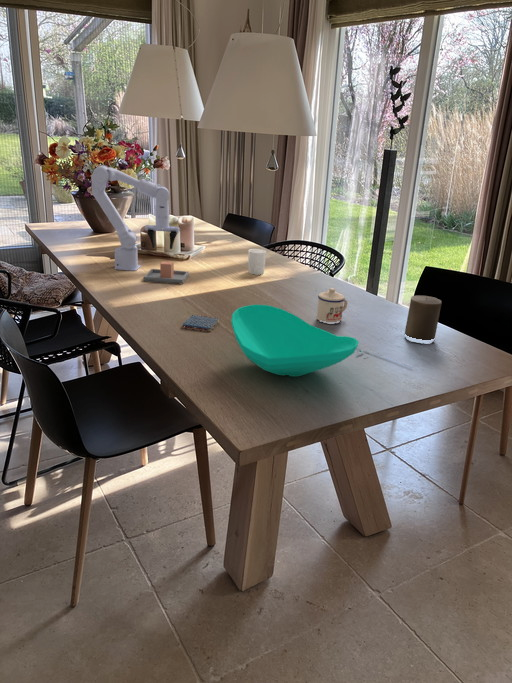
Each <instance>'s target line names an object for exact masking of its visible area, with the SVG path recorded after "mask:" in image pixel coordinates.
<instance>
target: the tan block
mask: <svg viewBox="0 0 512 683" xmlns="http://www.w3.org/2000/svg"><path fill="white" fill-rule="evenodd" d="M174 263H175V262H174V261H164V260H163V261H161V263H160V265H159V266H160V278H172V277H173V276H174V267H175V266H174V265H175V264H174Z"/></svg>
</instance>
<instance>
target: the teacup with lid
mask: <svg viewBox="0 0 512 683" xmlns="http://www.w3.org/2000/svg"><path fill="white" fill-rule="evenodd" d="M317 297H318V301H317V302H318V303H317V312H316V319H317V318H318V319H319V320H322V321H326V322H337V321H340V320H341V321H342V317H343V313H344V312H345V311H346V309H347V306H348V300H347V299H346V298H345V296H344V295H343V294H341V293H339V292H337V291H336V289H335V288H333V287H330V288H329V289H328V290H326V291H323V292H320V293H319V294H318V296H317Z"/></svg>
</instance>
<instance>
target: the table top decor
mask: <svg viewBox="0 0 512 683" xmlns="http://www.w3.org/2000/svg"><path fill="white" fill-rule="evenodd" d="M231 326H232V329H233V334H234V336H235V340H236V341H237V344H238V345H239V348H241V351H242V353H244V356H246V358H247V359H248V360H249V361H250V362H252V363H254V364H255V365H256V366H258V367H259V368H260V369H262V370H263V371H267V372H269V373H272V374H274V375H278V376H284V377H285V375H289V376H288V377H300V376H304V375H308V374H310V373H314V372H318V371H319V370H320V371H321V370H323V369H327V368H329V367H332V366H334V365H337V364H338V363H339V364H340V363H341V362H342V361H344V360H346V359H347V358H349V357H350V356H352V355H353V354H354V353H355V351H356V350H357V348H358V345H359V344H360V343H359V341H358V340H357V338H356V337H352V336H348V335H347V336H346V335H345V336H344V335H336V334H333V333H332V332H330V331H327V330H324V329H322V328H319V327H316V326H314V325H311V324H310V323H308V322H306V321H305V320H303V319H302V318H301V317H298V316H297V315H296V314H293V313H291V312H289V311H287V310H284V309H283V308H279V307H276V306H272V305H268V304H250V305H245V306H241V307H239V308H237V309H235V311H234V312H233V313H232V314H231Z"/></svg>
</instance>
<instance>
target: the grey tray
mask: <svg viewBox="0 0 512 683" xmlns="http://www.w3.org/2000/svg"><path fill="white" fill-rule="evenodd" d="M189 273H190V272H189V270H188V271H187V270H174V276H173V277H172V278H160V269H158V268H151V269H150V270H149V271H147V273H146V274H145V275H144V276H143V282H149V283H150V282H151V283H162V282H168V283H167V284H175V283H182V284H181V285H183V284H184V283H185V282H186V280H187V279H188V277H189V275H190V274H189ZM183 282H184V283H183Z"/></svg>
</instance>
